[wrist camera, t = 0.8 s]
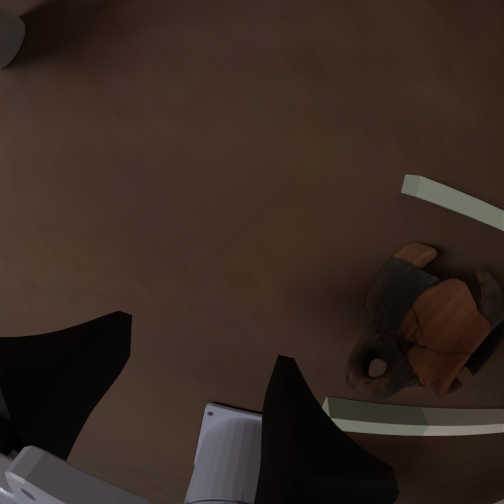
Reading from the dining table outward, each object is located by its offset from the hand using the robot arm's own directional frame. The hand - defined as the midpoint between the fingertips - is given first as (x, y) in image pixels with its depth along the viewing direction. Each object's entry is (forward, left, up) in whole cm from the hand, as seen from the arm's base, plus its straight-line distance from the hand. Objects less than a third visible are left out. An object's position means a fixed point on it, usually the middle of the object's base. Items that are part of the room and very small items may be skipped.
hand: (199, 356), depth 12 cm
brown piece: (0, -13, -10) cm, 16 cm away
